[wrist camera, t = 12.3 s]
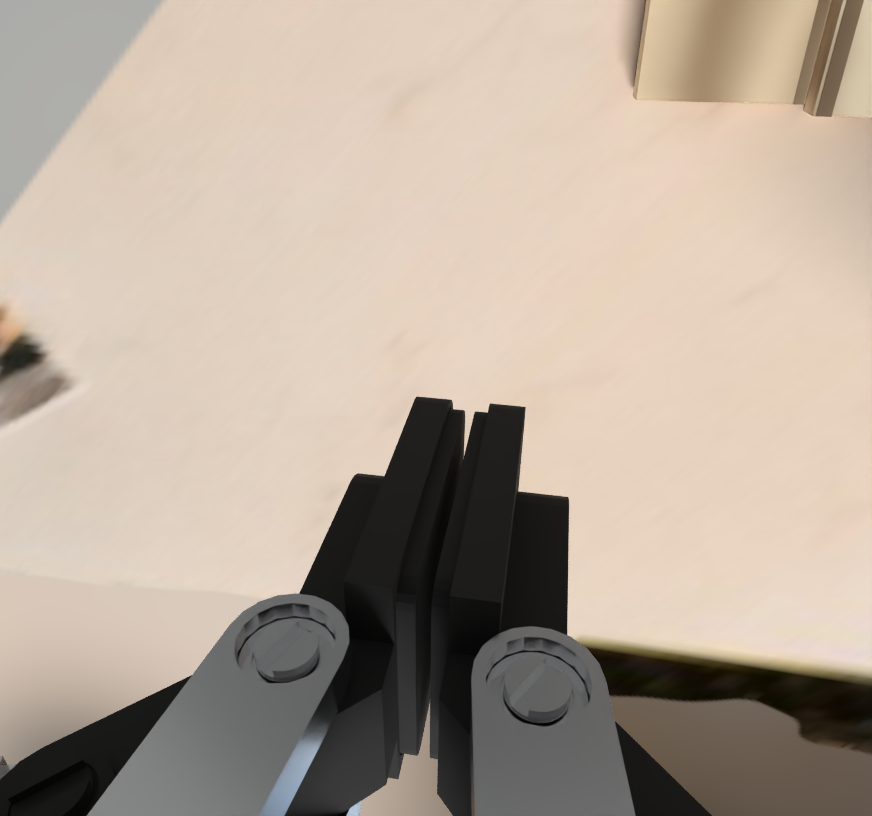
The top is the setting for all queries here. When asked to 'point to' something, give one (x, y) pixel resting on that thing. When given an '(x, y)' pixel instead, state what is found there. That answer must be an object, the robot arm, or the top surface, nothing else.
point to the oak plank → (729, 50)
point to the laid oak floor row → (844, 63)
